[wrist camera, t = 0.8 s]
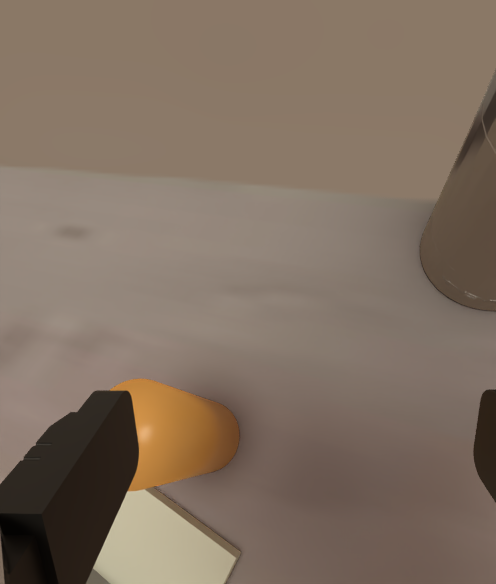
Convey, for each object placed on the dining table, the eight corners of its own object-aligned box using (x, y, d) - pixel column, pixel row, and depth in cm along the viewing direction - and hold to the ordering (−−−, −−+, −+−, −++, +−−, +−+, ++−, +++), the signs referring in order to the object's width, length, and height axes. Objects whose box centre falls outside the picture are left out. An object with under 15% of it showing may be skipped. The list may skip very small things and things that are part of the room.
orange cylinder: (196, 389, 31) (124, 360, 20) (251, 422, 30) (205, 411, 19) (162, 448, 30) (65, 452, 19) (217, 487, 29) (146, 515, 18)
